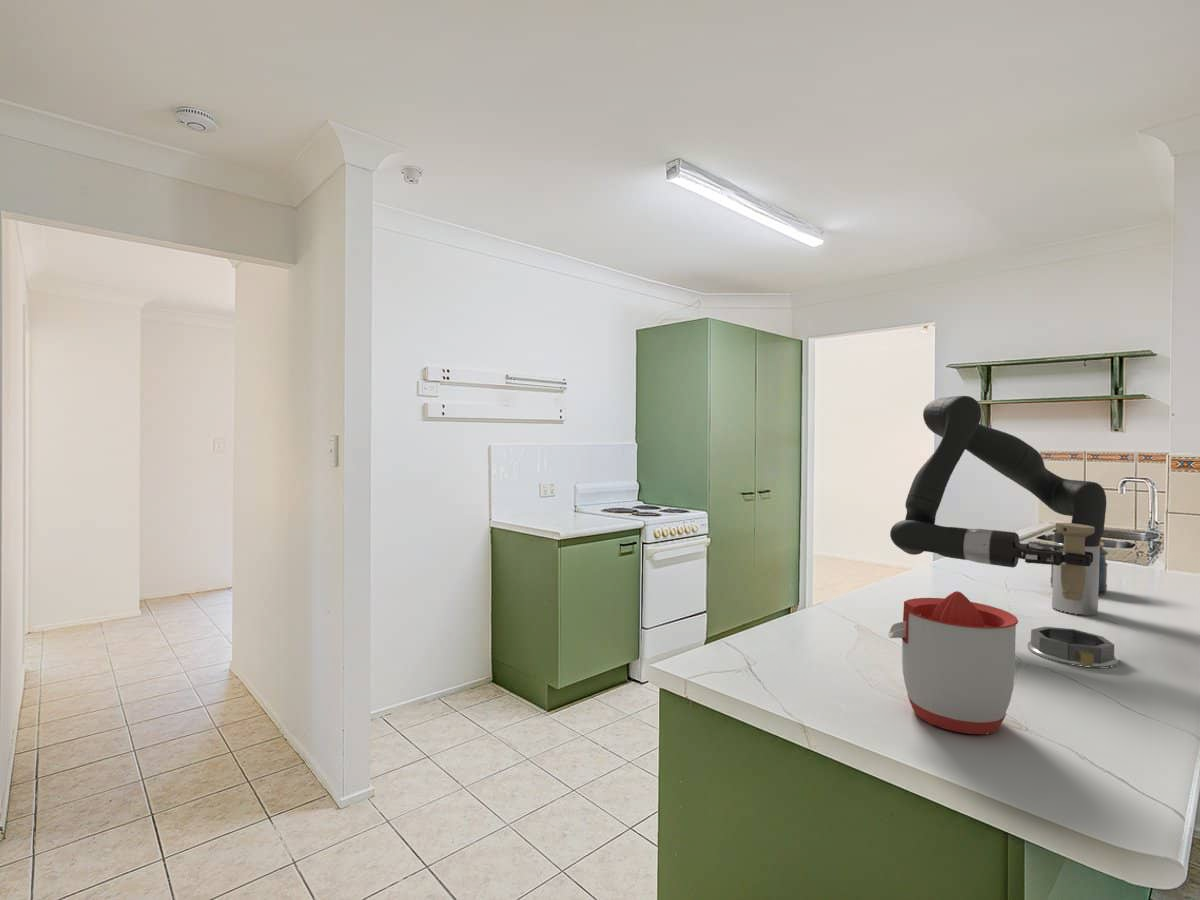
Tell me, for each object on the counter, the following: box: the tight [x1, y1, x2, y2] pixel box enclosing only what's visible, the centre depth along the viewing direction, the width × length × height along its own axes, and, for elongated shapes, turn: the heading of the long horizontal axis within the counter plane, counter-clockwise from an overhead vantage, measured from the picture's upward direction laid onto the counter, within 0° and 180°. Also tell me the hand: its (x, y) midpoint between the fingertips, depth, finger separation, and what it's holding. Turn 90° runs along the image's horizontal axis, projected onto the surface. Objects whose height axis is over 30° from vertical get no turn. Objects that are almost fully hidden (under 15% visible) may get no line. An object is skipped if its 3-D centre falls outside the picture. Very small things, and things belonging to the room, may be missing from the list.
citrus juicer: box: [888, 590, 1019, 735], centre depth 95 cm, size 16×17×20 cm
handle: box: [1055, 522, 1095, 601], centre depth 123 cm, size 5×6×15 cm
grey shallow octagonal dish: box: [1027, 626, 1118, 668], centre depth 124 cm, size 15×14×4 cm
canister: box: [1049, 540, 1109, 595], centre depth 176 cm, size 13×13×18 cm
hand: (1091, 559), depth 121 cm, fingers closed on handle, 3 cm apart
